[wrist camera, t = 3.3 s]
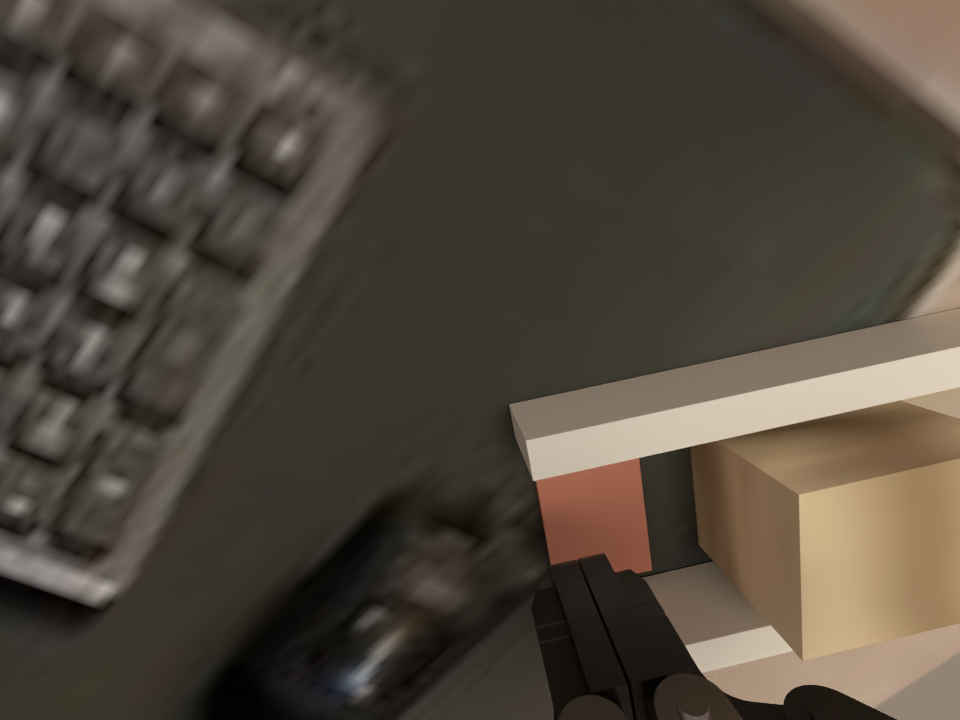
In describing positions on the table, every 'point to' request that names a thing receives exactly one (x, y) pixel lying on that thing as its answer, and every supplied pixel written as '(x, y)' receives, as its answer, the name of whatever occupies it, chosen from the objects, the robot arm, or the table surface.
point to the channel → (702, 419)
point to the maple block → (838, 524)
